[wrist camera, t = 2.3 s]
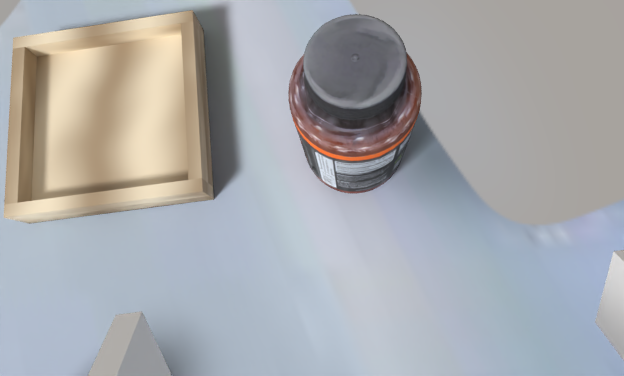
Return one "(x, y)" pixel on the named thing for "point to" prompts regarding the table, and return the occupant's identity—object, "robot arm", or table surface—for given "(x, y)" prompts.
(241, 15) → the table surface
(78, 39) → the birch tray
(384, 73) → the supplement bottle
